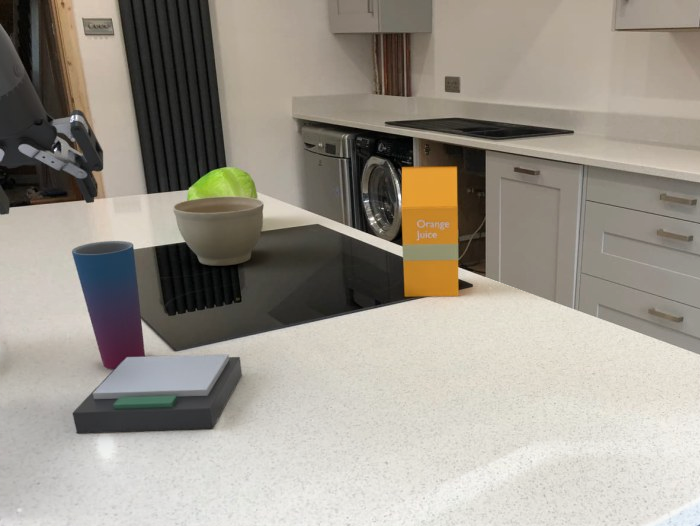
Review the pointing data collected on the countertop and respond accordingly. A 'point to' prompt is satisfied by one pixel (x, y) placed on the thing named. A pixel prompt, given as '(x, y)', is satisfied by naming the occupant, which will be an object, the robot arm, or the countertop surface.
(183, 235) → the planter bowl
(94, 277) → the cup
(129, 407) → the scale
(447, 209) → the orange juice
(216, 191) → the lettuce
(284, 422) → the countertop surface
